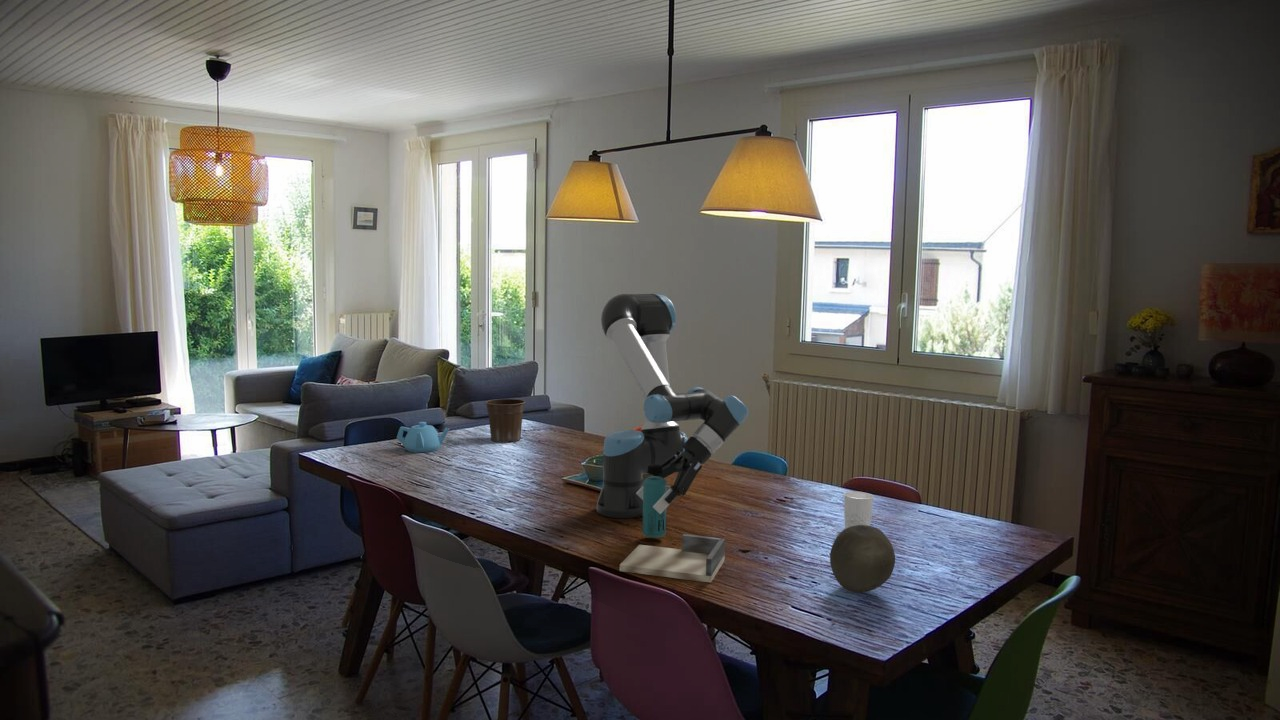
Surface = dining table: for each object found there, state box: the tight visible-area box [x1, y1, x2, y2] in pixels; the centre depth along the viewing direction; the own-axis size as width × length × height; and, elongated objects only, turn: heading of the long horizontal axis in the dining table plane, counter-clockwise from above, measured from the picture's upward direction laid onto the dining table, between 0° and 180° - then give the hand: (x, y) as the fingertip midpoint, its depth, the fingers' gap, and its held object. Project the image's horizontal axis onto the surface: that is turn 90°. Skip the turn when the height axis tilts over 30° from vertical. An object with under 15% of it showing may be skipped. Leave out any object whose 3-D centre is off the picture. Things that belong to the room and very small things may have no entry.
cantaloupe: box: [829, 525, 896, 594], centre depth 190 cm, size 14×14×15 cm
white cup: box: [843, 491, 874, 530], centre depth 237 cm, size 8×8×10 cm
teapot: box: [396, 421, 450, 453], centre depth 330 cm, size 15×15×11 cm
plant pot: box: [485, 398, 526, 443], centre depth 352 cm, size 16×16×16 cm
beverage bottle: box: [641, 464, 668, 538], centre depth 224 cm, size 6×7×20 cm
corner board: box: [619, 533, 726, 584], centre depth 205 cm, size 22×16×6 cm
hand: (647, 503), depth 224 cm, fingers open, 13 cm apart
